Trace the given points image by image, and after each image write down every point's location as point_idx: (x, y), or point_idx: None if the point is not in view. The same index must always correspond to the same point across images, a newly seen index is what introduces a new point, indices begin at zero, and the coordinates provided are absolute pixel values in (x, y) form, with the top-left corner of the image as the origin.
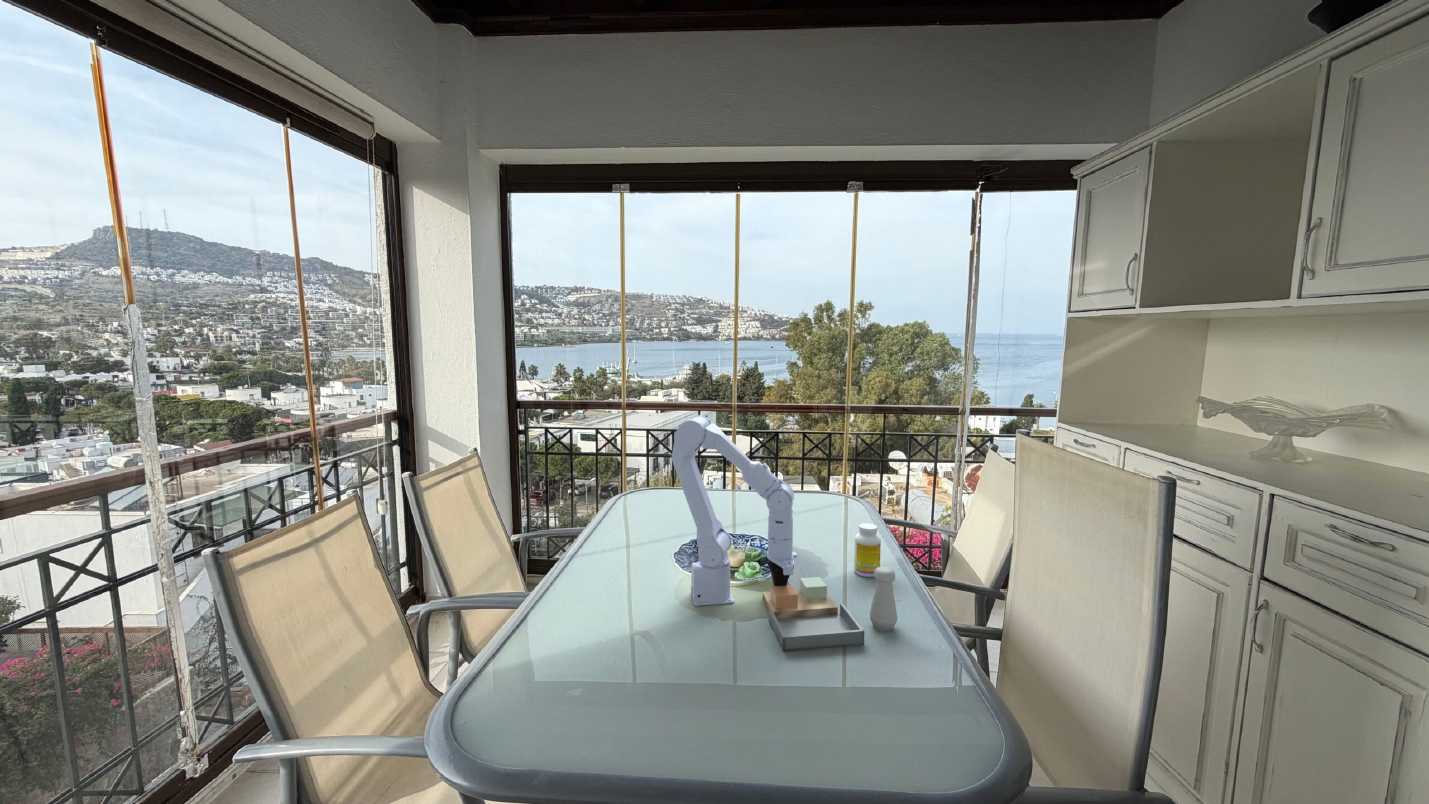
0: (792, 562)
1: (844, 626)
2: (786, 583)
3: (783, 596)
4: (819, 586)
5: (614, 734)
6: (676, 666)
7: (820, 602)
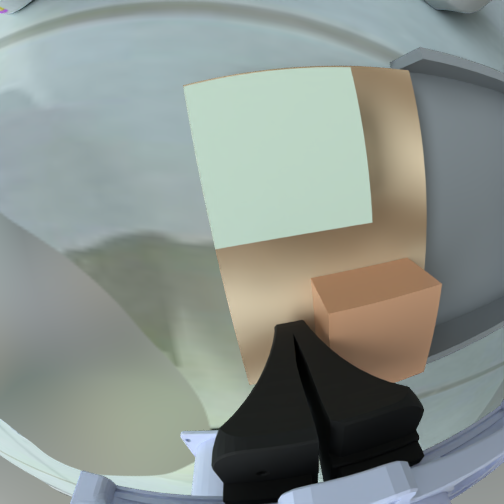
0: (485, 443)
1: (467, 97)
2: (325, 346)
3: (428, 344)
4: (360, 121)
5: None
6: (457, 427)
7: (372, 134)
